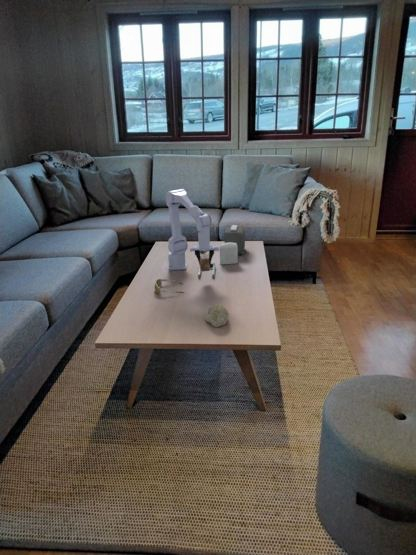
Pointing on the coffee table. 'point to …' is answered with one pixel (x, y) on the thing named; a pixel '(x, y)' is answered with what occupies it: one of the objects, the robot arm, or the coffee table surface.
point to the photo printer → (228, 253)
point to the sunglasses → (159, 283)
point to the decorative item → (217, 315)
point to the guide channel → (210, 268)
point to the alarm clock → (235, 237)
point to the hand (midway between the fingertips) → (205, 264)
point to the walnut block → (204, 262)
